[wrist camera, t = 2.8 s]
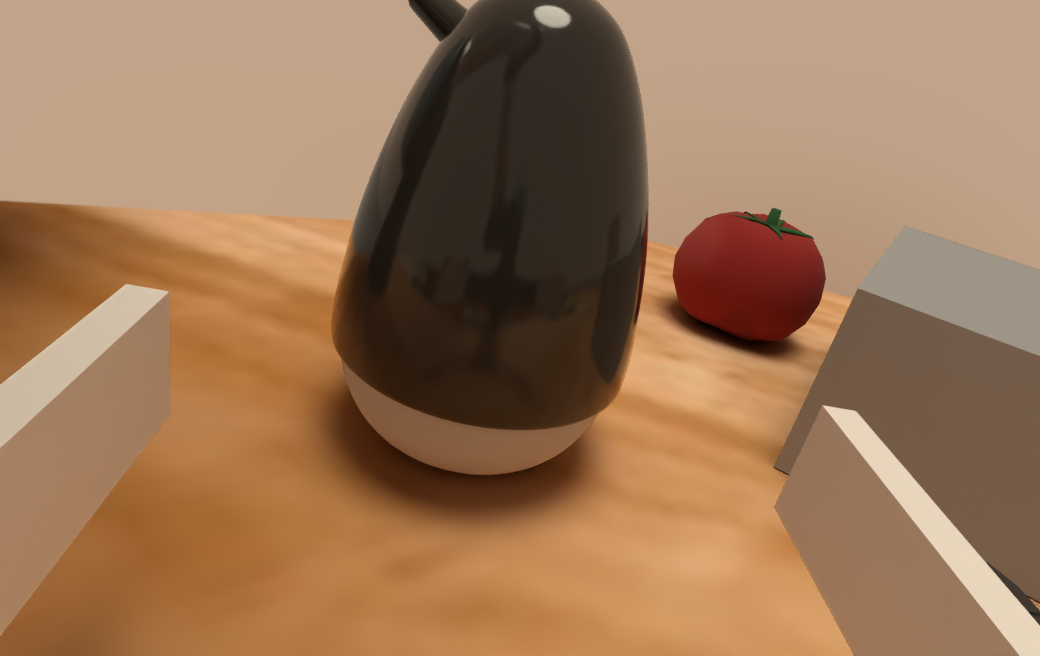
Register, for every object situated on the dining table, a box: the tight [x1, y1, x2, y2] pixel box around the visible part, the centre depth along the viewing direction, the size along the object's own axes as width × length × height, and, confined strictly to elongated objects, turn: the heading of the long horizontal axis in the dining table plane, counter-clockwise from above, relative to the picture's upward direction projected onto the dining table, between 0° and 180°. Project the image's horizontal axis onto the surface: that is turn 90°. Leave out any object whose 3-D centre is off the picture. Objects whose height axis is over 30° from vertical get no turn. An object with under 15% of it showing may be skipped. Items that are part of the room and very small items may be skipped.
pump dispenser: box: [331, 0, 649, 475], centre depth 22 cm, size 10×10×15 cm
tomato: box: [673, 208, 826, 341], centre depth 39 cm, size 8×8×7 cm
